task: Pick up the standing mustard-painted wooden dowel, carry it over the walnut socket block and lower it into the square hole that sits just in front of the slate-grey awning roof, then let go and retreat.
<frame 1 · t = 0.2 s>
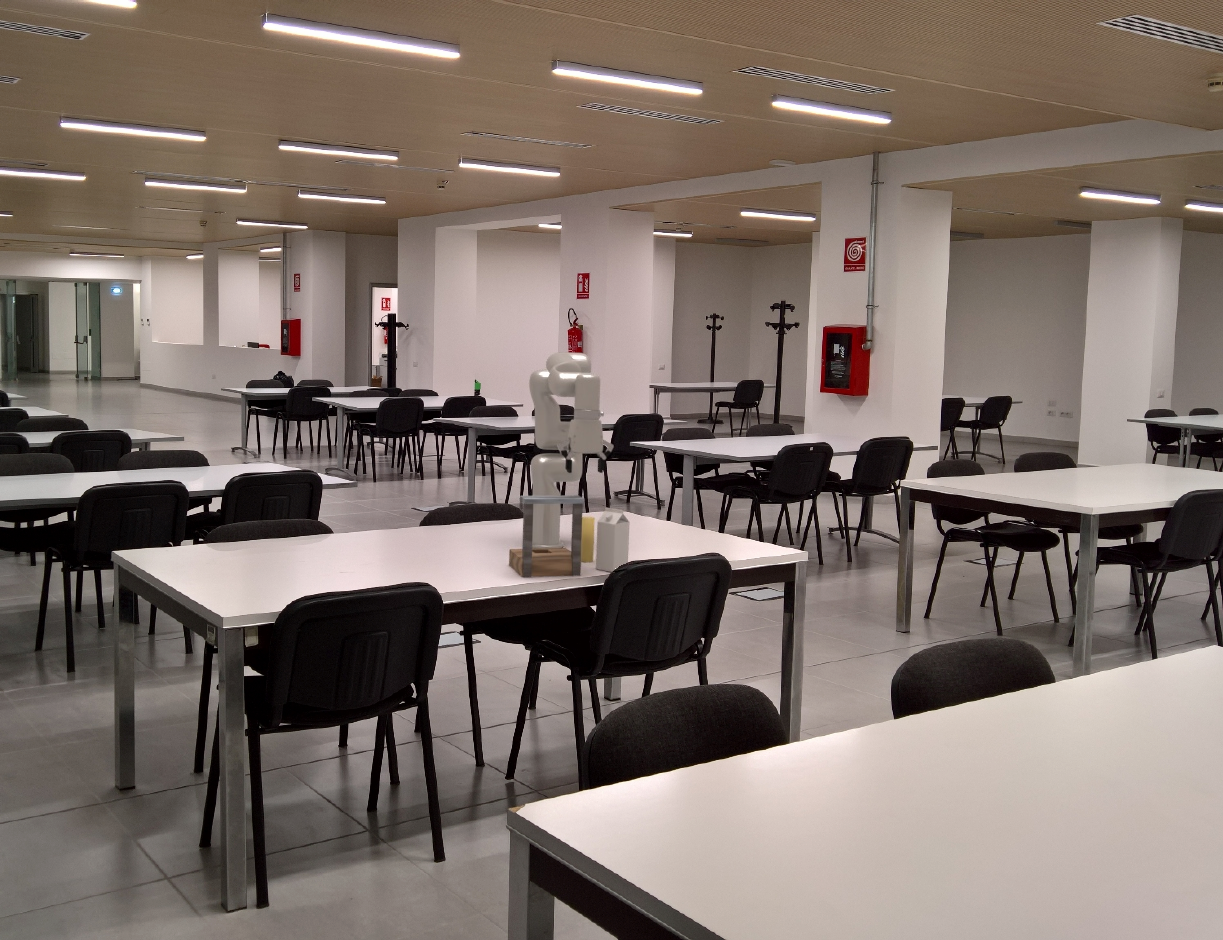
hand: (584, 472, 337), 31 cm above the table, fingers open, 9 cm apart
milk carton: (611, 570, 347), on the table
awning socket: (544, 569, 342), on the table
peg: (586, 561, 359), on the table
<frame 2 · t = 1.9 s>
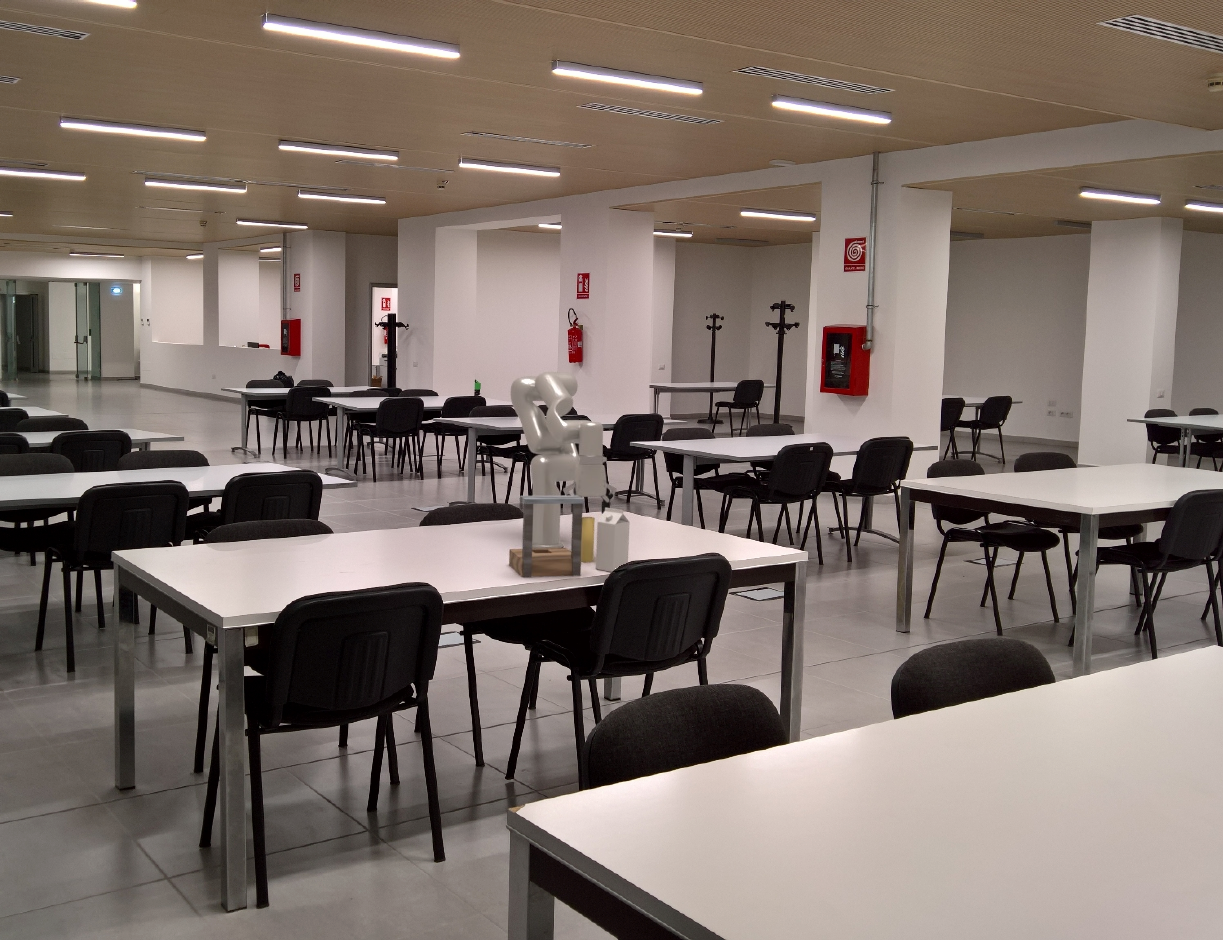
hand: (589, 514, 357), 15 cm above the table, fingers open, 9 cm apart
nothing on the table moved.
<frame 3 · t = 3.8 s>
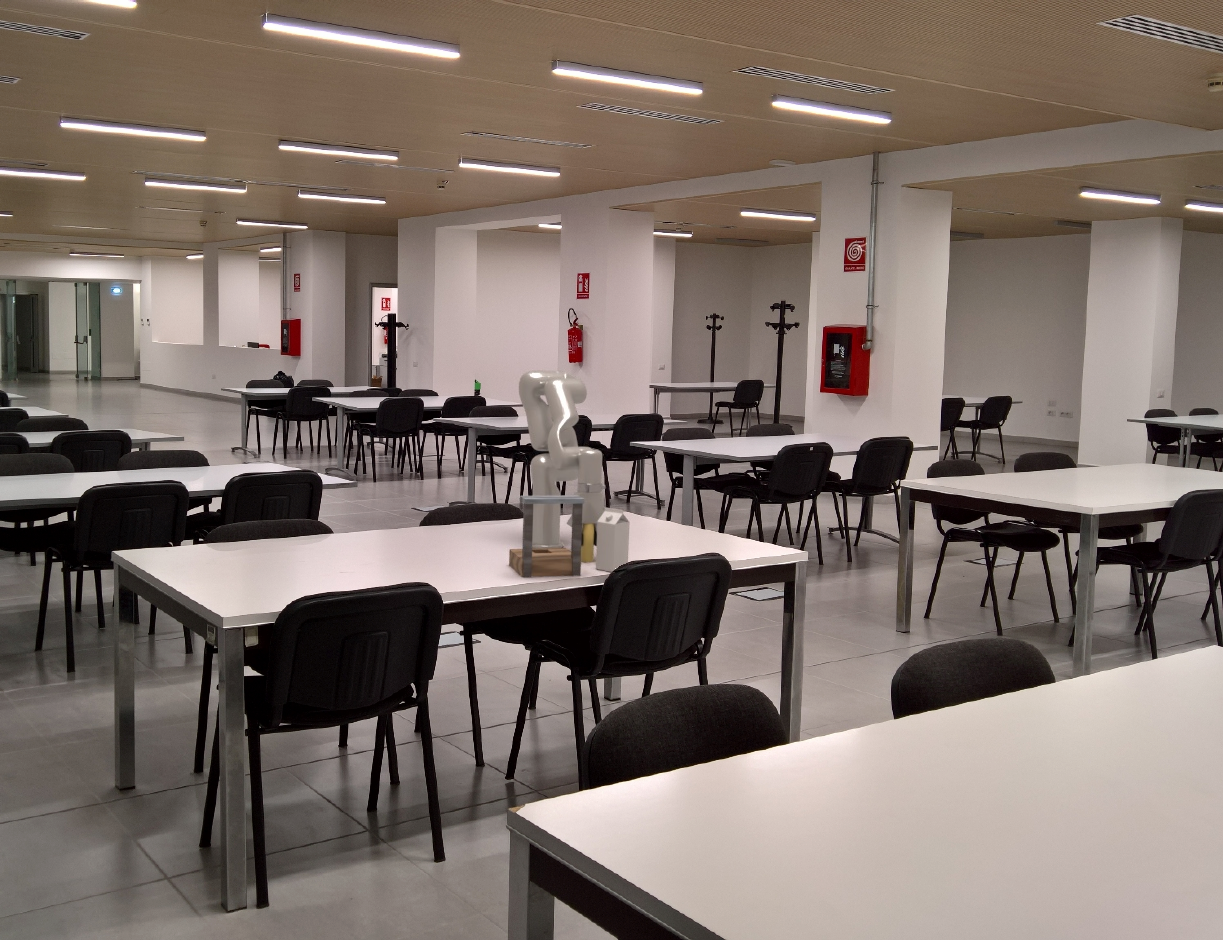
hand: (587, 544, 358), 5 cm above the table, fingers closed on peg, 4 cm apart
peg: (586, 561, 359), on the table, touching gripper
everything else where it was.
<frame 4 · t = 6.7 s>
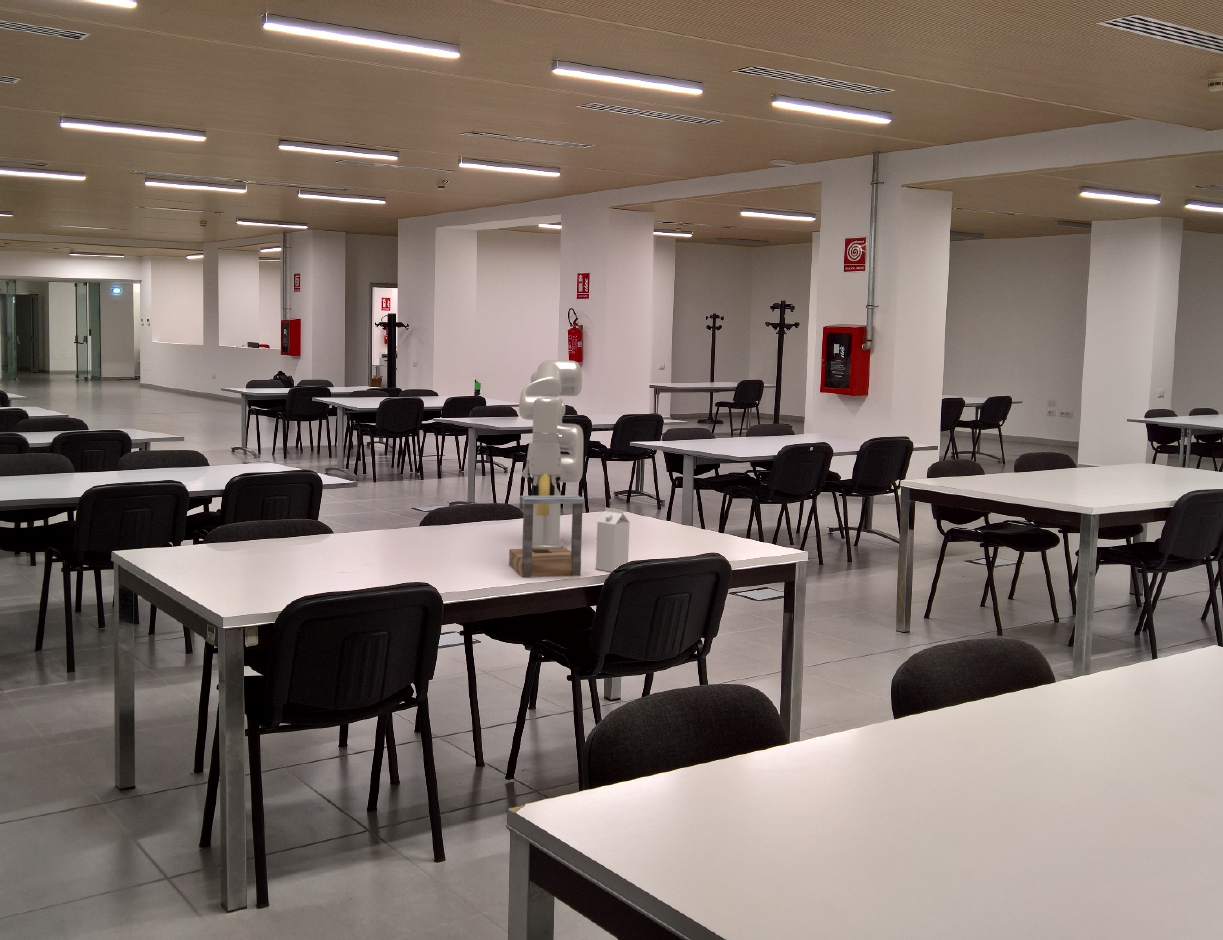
hand: (543, 497, 344), 22 cm above the table, fingers closed on peg, 4 cm apart
peg: (542, 514, 344), point 17 cm above the table, touching gripper
everything else where it was.
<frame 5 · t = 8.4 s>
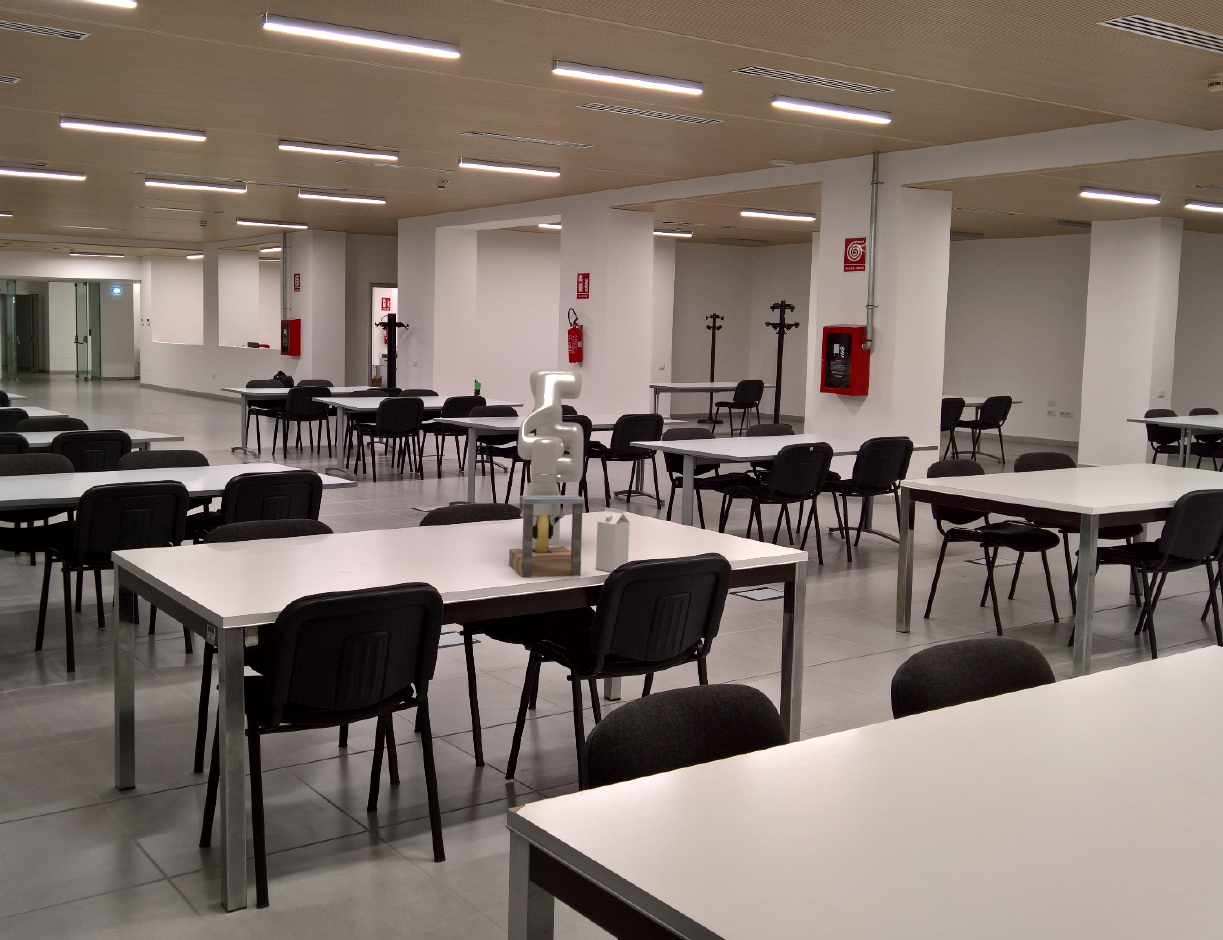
hand: (541, 537, 345), 9 cm above the table, fingers closed on peg, 4 cm apart
peg: (541, 554, 345), point 4 cm above the table, touching gripper
everything else where it was.
when the fingers open (7 cm above the table, at t = 9.9 s): peg drops 1 cm, resting in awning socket.
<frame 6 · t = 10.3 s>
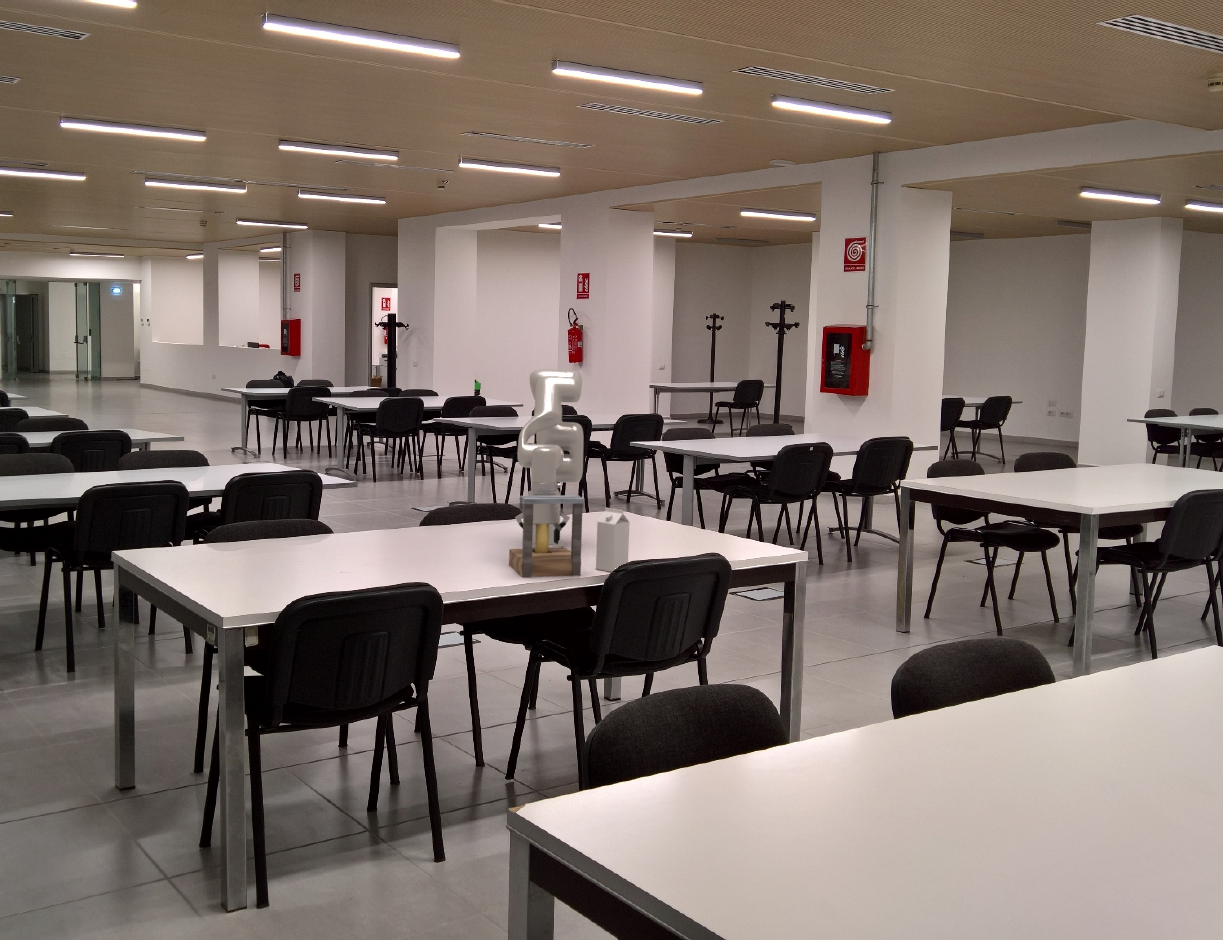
hand: (541, 543, 345), 8 cm above the table, fingers open, 8 cm apart
peg: (541, 567, 346), resting in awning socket
everything else where it was.
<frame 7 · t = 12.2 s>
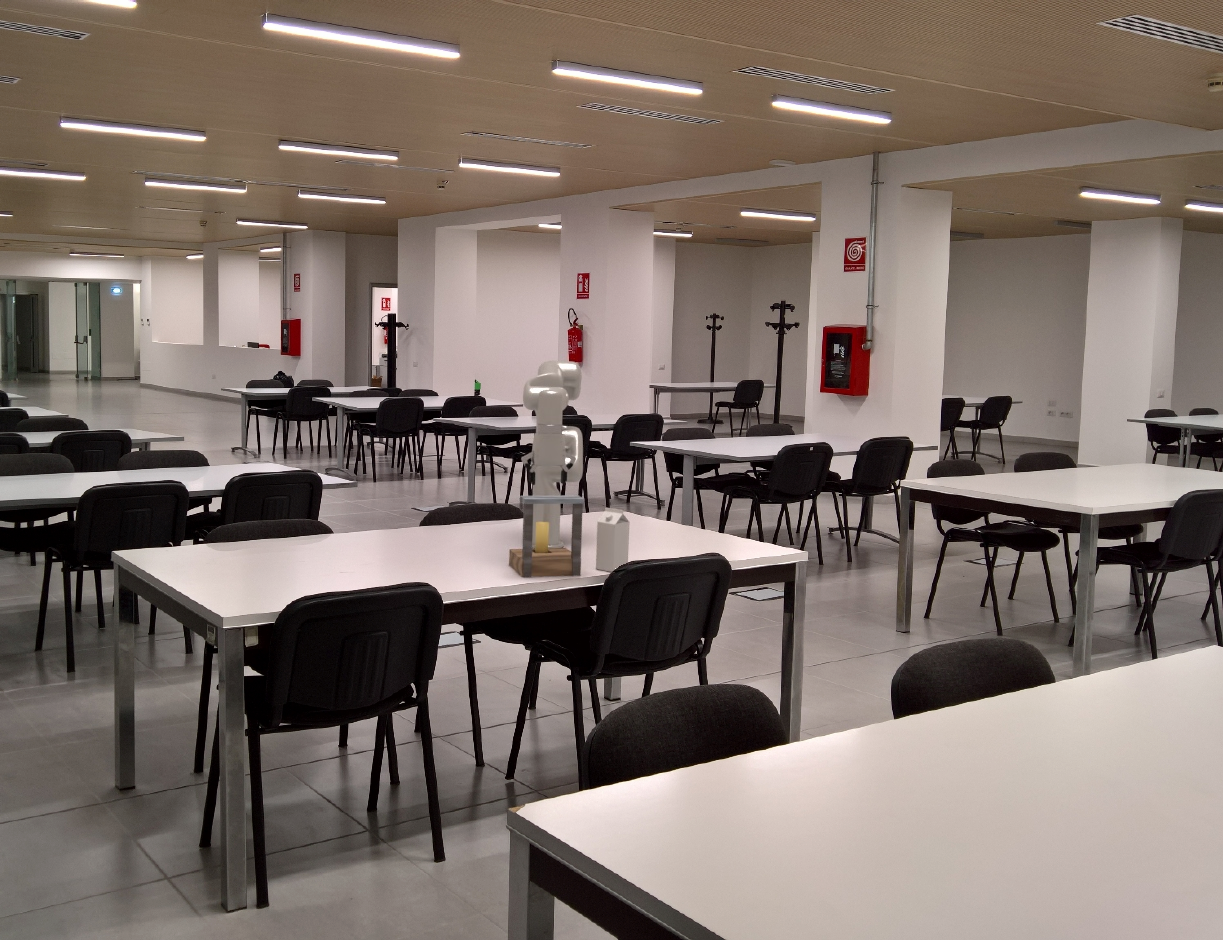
hand: (548, 484, 350), 25 cm above the table, fingers open, 9 cm apart
nothing on the table moved.
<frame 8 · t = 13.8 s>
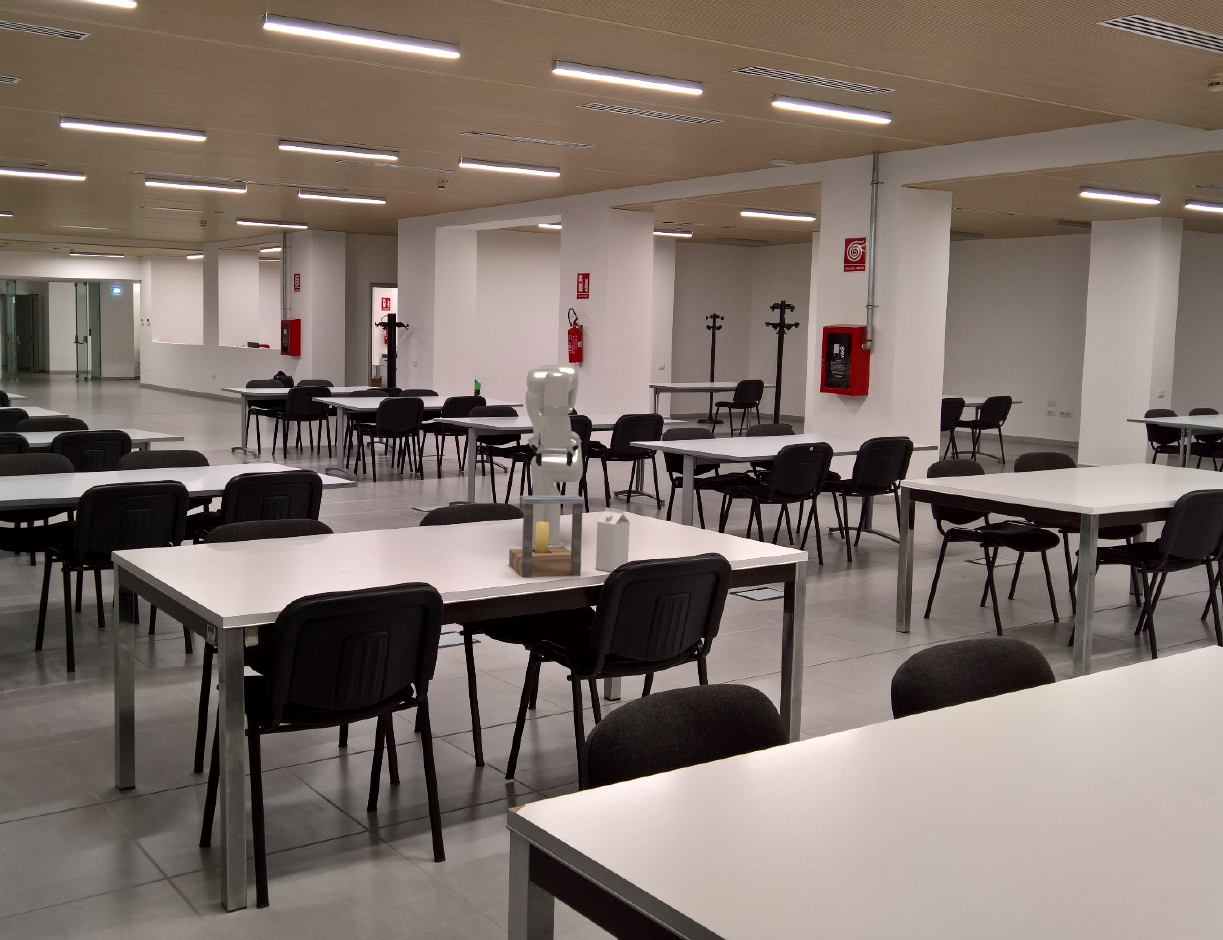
hand: (554, 465, 355), 30 cm above the table, fingers open, 9 cm apart
nothing on the table moved.
at the end: peg 0.0 cm from the target spot on the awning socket, point 0.0 cm above the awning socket's base; peg tilted 0°; the gripper is holding nothing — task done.
